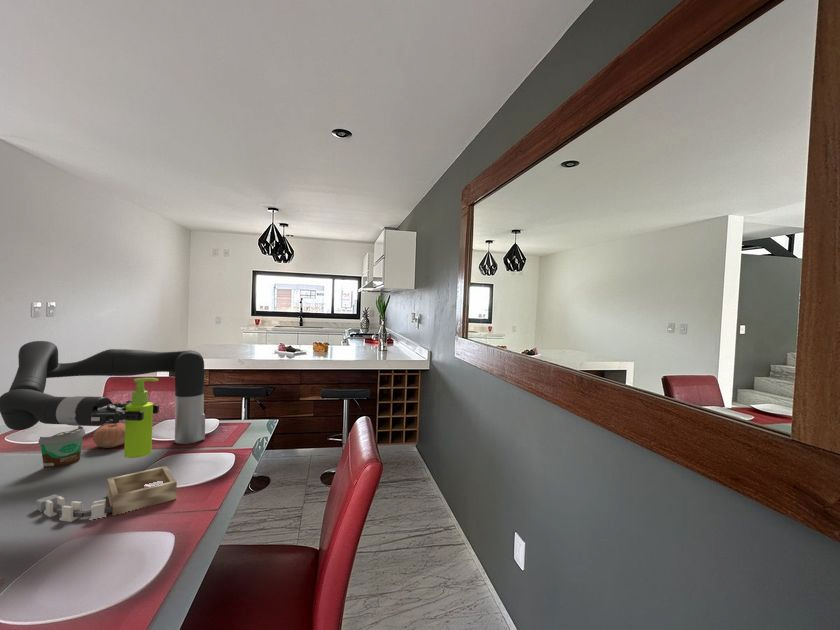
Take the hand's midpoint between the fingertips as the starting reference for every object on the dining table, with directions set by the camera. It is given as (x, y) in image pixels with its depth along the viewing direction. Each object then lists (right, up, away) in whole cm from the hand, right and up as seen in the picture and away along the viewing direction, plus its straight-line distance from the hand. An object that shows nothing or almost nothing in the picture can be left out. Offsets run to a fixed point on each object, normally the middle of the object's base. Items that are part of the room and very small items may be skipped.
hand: (150, 412), depth 105 cm
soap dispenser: (-3, -11, 0) cm, 11 cm away
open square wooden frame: (-3, -23, +1) cm, 23 cm away
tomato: (-38, -21, +36) cm, 56 cm away
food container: (-40, -21, +21) cm, 50 cm away
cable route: (-14, -23, -7) cm, 27 cm away
